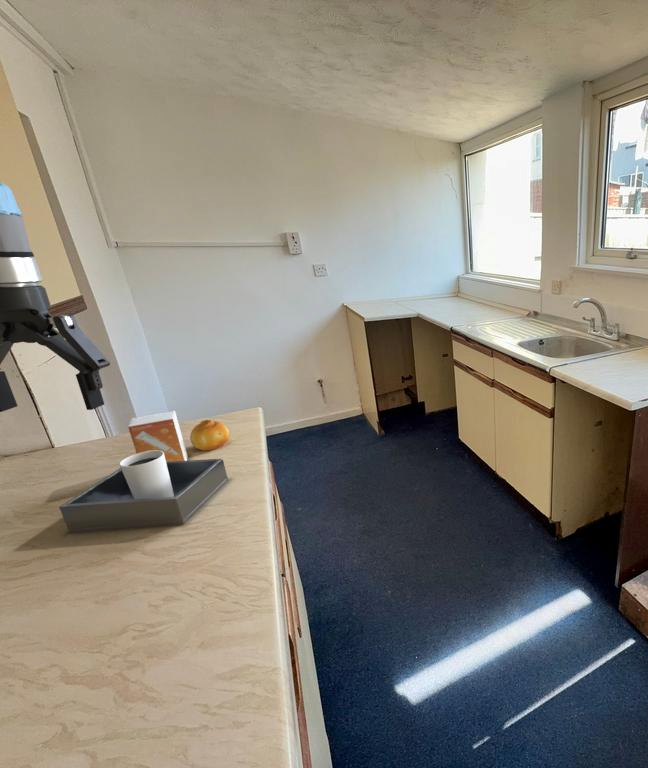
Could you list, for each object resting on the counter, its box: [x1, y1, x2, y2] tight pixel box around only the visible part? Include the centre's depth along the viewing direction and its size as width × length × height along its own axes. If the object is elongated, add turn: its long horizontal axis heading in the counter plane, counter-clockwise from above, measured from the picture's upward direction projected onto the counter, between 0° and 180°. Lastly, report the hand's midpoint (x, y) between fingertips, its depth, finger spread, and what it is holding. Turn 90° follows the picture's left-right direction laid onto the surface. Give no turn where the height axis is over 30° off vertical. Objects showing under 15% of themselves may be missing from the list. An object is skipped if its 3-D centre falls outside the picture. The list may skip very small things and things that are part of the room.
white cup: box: [118, 450, 174, 500], centre depth 81 cm, size 7×7×10 cm
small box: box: [128, 410, 188, 462], centre depth 95 cm, size 8×6×13 cm
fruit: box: [189, 419, 230, 451], centre depth 106 cm, size 8×8×8 cm
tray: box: [58, 458, 229, 534], centre depth 81 cm, size 20×16×6 cm
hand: (52, 408), depth 70 cm, fingers open, 13 cm apart
